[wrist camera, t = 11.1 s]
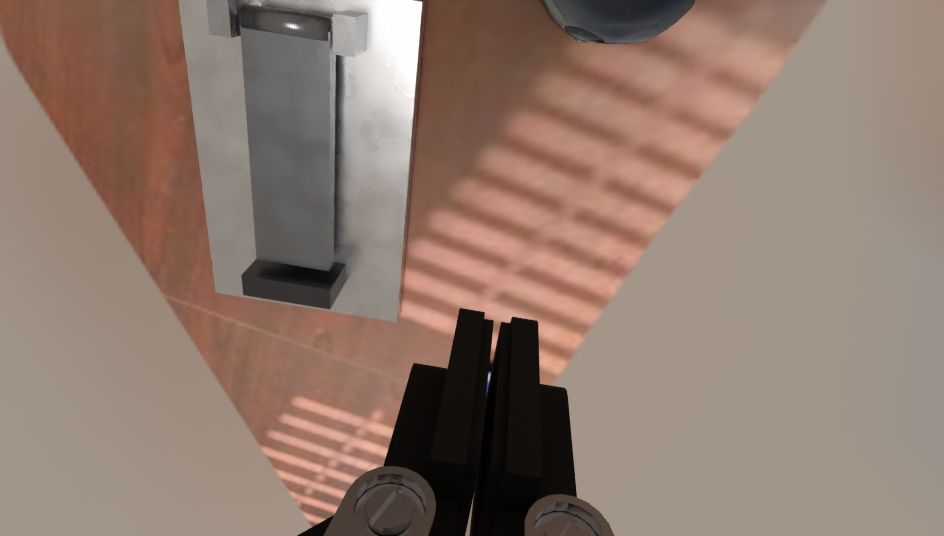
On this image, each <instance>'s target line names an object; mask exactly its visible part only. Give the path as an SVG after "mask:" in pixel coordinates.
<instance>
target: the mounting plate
mask: <svg viewBox="0 0 944 536" xmlns="http://www.w3.org/2000/svg"><path fill="white" fill-rule="evenodd" d="M178 1H179V9H180V17H181V24H182V32H183V40H184V48H185V56H186V63H187V71H188V79H189V87H190V95H191V102H192V110H193V118H194V126H195V134H196V141H197V149H198V157H199V165H200V173H201V181H202V188H203V196H204V204H205V212H206V220H207V227H208V235H209V243H210V251H211V259H212V266H213V274H214V282H215V290H216V293H222V294H228V295H234V296H240V297H246V298H252V299H258V300H264V301H270V302H276V303H282V304H288V305H294V306H300V307H307V308H313V309H319V310H325V311H331V312H337V313H343V314H349V315H355V316H361V317H367V318H373V319H379V320H385V321H392V322H397V321H398V318H399V315H400V313H401V305H402V293H403V281H404V269H405V257H406V244H407V232H408V220H409V208H410V196H411V183H412V171H413V159H414V147H415V135H416V122H417V110H418V98H419V86H420V74H421V61H422V49H423V37H424V25H425V12H426V0H178ZM244 3H246V4H252V5H258V6H265V7H271V8H277V9H284V10H290V11H296V12H303V13H309V14H315V15H322V16H328V17H333V54H335V55H336V83H335V184H334V264H333V266H332V267H331V269H330V270H329V271H325V270H319V269H313V268H307V267H300V266H294V265H288V264H282V263H276V262H270V261H264V260H258V259H256V246H255V232H254V218H253V203H252V189H251V175H250V161H249V147H248V133H247V119H246V105H245V91H244V77H243V62H242V48H241V34H240V20H239V13H240V8H241V6H242V4H244Z"/></svg>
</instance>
